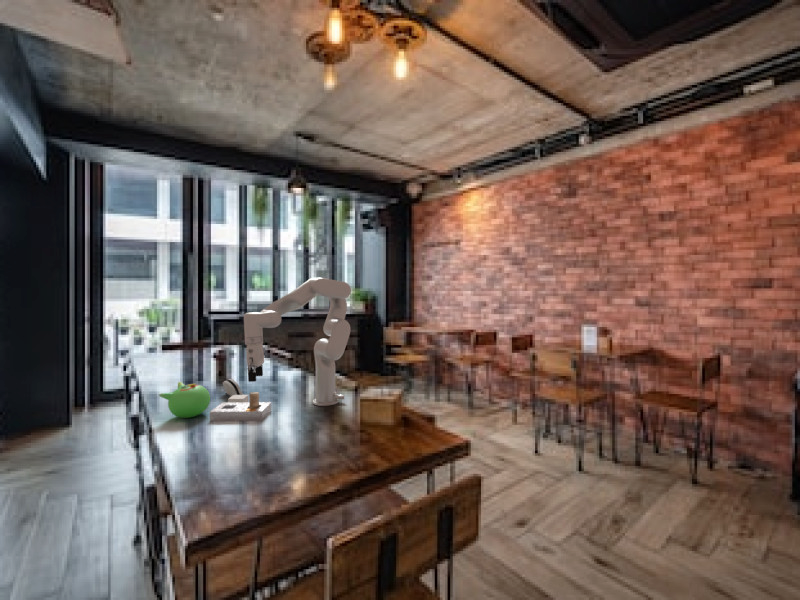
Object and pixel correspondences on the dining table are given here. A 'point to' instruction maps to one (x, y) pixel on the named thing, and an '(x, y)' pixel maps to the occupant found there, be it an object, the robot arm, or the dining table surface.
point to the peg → (254, 400)
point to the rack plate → (240, 412)
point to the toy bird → (187, 400)
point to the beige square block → (238, 398)
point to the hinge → (232, 387)
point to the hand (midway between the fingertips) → (255, 378)
